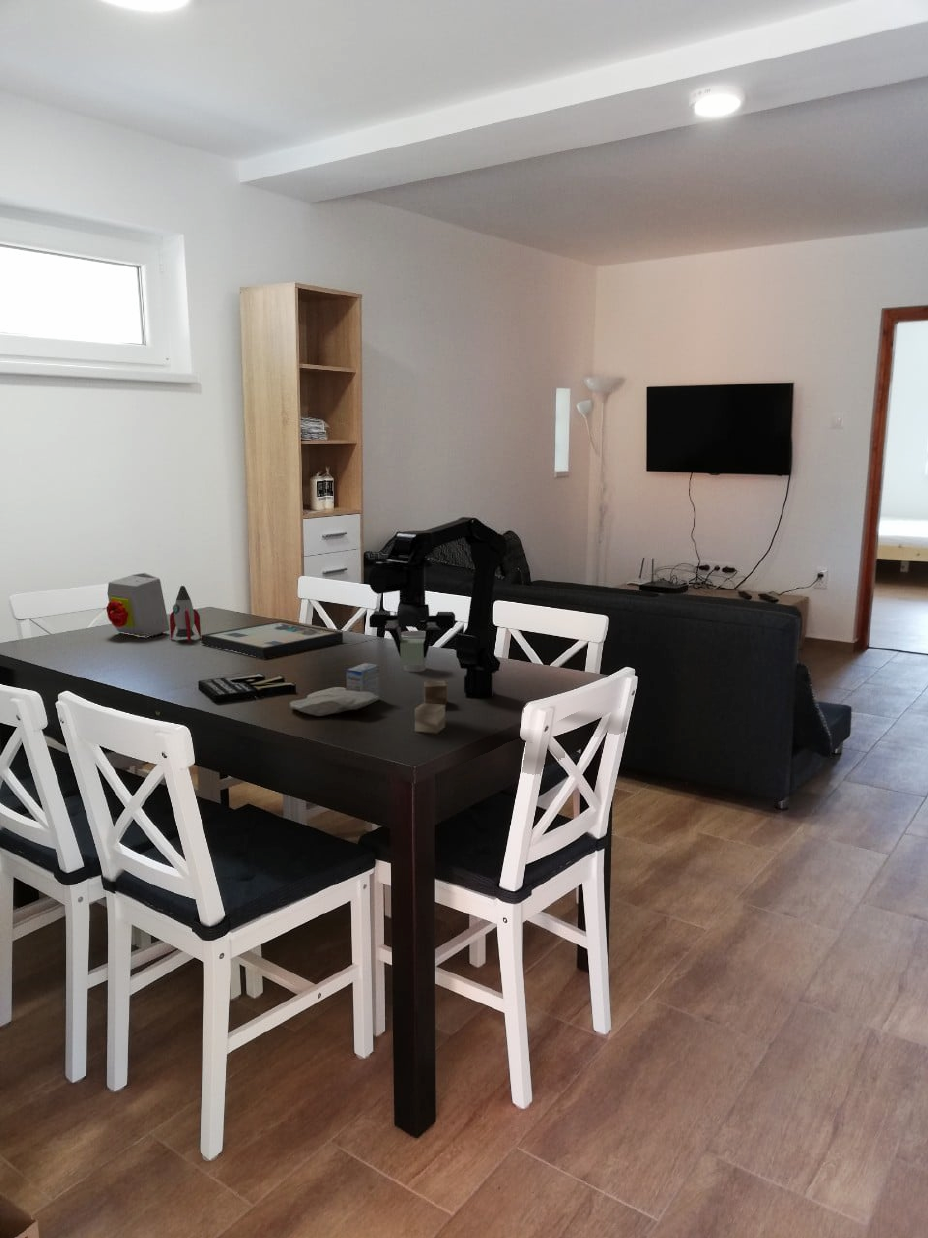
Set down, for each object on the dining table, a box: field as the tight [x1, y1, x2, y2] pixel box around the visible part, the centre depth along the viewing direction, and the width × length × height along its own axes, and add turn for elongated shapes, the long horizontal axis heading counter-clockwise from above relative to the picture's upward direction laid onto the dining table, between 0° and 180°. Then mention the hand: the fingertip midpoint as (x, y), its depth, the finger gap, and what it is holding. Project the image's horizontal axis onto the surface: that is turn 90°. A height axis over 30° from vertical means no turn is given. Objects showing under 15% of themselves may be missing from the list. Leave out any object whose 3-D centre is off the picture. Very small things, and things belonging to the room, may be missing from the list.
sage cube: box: [400, 639, 427, 666], centre depth 211 cm, size 5×5×5 cm
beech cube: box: [414, 702, 446, 734], centre depth 201 cm, size 5×5×5 cm
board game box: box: [201, 620, 344, 659], centre depth 289 cm, size 30×4×30 cm
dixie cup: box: [401, 630, 428, 673], centre depth 254 cm, size 8×8×10 cm
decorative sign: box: [197, 672, 297, 705], centre depth 233 cm, size 17×2×20 cm
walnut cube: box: [422, 680, 448, 707], centre depth 221 cm, size 5×5×5 cm
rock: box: [289, 686, 380, 717], centre depth 215 cm, size 21×5×15 cm
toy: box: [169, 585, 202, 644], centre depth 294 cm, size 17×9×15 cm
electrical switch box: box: [106, 572, 170, 637], centre depth 300 cm, size 15×15×20 cm
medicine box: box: [346, 662, 381, 701], centre depth 222 cm, size 8×4×9 cm, turn 154°
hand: (413, 657), depth 211 cm, fingers closed on sage cube, 5 cm apart
